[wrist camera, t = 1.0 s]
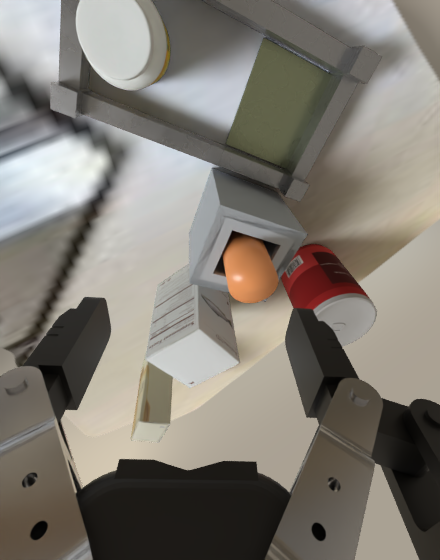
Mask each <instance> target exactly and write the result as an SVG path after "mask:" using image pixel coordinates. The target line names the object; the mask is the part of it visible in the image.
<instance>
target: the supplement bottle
mask: <svg viewBox="0 0 440 560" xmlns="http://www.w3.org/2000/svg"><path fill="white" fill-rule="evenodd" d="M76 30H77V35H78V39H79V42H80V44H81V47H82V49H83V51H84V53H85V55H86V57H87V59H88V61H89V63H90V64H91V66H92V67H93V68H94V70H95V71H96V72H97V73H98V74H99V75H100V76H101V77H102V78H103V79H104V80H106V81H107V82H108V83H110V84H111V85H113V86H115V87H118V88H120V89H124V90H140V89H143V88H145V87H147V86H149V85H152V84H154V83H155V82H157V81H158V80H159V79H160V78H161V77H162V76H163V75H164V74H165V72H166V70H167V68H168V65H169V61H170V40H169V35H168V32H167V29H166V27H165V25H164V23H163V21H162V18H161V16H160V14H159V12H158V10H157V8H156V7H155V5H154V4H153V3H152V1H151V0H80V1H79V4H78V7H77V12H76Z"/></svg>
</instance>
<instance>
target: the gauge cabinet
mask: <svg viewBox="0 0 440 560" xmlns="http://www.w3.org/2000/svg"><path fill="white" fill-rule="evenodd" d="M232 230H233V231H236V232H240V233H243V234H246V235H249V236H252V237H256V238H259V239H262V240H263V242H264V245H265V247H266V249H267V252H268V254H269V256H270V259H271V261H272V263H273V265H274V268H275V270H276V272H277V275H278V281H279V279H280V278H281V276H282V275H283V273H284V271H285V270H286V268H287V267H288V265H289V263H290V262H291V260H292V259H293V257H294V255H295V254H296V252H297V251H298V249H299V247H300V246H301V244H302V243H303V241H304V239H305V238H306V236H307V235H308V234H307V233H306V231H305V230H304V228H303V227H302V226H301V224H300V223H299V222H298V220H297V219H296V217H295V216H294V215H293V213H292V212H291V211H290V209H289V208H288V206H287V205H286V204H285V202H284V201H283V199H282V198H281V197H280V195H279V194H278V193H277V192H274V191H272V190H269V189H266V188H264V187H261V186H258V185H255V184H253V183H250V182H247V181H245V180H242V179H239V178H237V177H234V176H231V175H229V174H226V173H223V172H221V171H218V170H215V169H213V168H212V169H211V172H210V175H209V178H208V181H207V184H206V186H205V189H204V192H203V195H202V198H201V201H200V204H199V207H198V209H197V212H196V215H195V218H194V221H193V224H192V227H191V230H190V232H189V283H190V284H194V285H198V286H203V287H207V288H211V289H215V290H219V291H223V292H227V293H230V292H229V289H228V284H227V278H226V273H225V267H224V261H223V256H222V252H223V250H224V248H225V245H226V243H227V241H228V239H229V236H230V234H231V232H232ZM267 299H268V298H266V299H264V300H262V301H265V302H266V300H267Z"/></svg>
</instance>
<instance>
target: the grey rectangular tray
mask: <svg viewBox="0 0 440 560" xmlns="http://www.w3.org/2000/svg"><path fill="white" fill-rule="evenodd" d="M79 1H80V0H61V25H60V55H59V82H51V108H50V109H52V110H55V111H57V112H60V113H63V114H65V115H68V116H71V117H73V118H77V117H80V116H82V115H86V116H88V117H91V118H94V119H96V120H99V121H102V122H104V123H107V124H110V125H112V126H115V127H117V128H120V129H123V130H125V131H128V132H131V133H133V134H136V135H139V136H141V137H144V138H146V139H149V140H152V141H154V142H157V143H160V144H162V145H165V146H168V147H170V148H173V149H175V150H178V151H181V152H183V153H186V154H189V155H191V156H194V157H197V158H199V159H202V160H204V161H207V162H210V163H212V164H215V165H218V166H220V167H223V168H226V169H228V170H231V171H233V172H236V173H239V174H241V175H244V176H247V177H249V178H252V179H255V180H257V181H260V182H262V183H265V184H268V185H270V186H273V187H276V188H278V189H280V191H281V192H282V193H283V194H284V196H285V197H288V198H291V199H293V200H296V201H299V202H300V201H301V200H302V198H303V196H304V194H305V193H306V191H307V189H308V187H309V184H308V183H307V182H306V181H305V179H306V177H307V175H308V173H309V171H310V170H311V168H312V166H313V164H314V162H315V160H316V159H317V157H318V155H319V153H320V151H321V149H322V148H323V146H324V144H325V142H326V140H327V139H328V137H329V135H330V133H331V131H332V129H333V128H334V126H335V124H336V122H337V120H338V118H339V117H340V115H341V113H342V111H343V109H344V108H345V106H346V104H347V102H348V100H349V98H350V97H351V95H352V93H353V91H354V89H355V87H356V86H357V84H358V83H368V81H369V79H370V77H371V76H372V74H373V72H374V70H375V69H376V67H377V65H378V63H379V61H380V60H381V58H382V56H380V55H378V54H377V53H375V52H373V51H372V50H370V49H369V48H367V47H365V46H359V47H352V48H350V47H349V46H347V45H345V44H344V43H342V42H340V41H339V40H337V39H335V38H334V37H332V36H330V35H329V34H327V33H325V32H324V31H322V30H320V29H319V28H317V27H315V26H314V25H312V24H310V23H309V22H307V21H305V20H304V19H302V18H300V17H299V16H297V15H295V14H294V13H292V12H290V11H289V10H287V9H285V8H284V7H282V6H280V5H279V4H277V3H275V2H274V1H272V0H202V1H204V2H206V3H208V4H209V5H211V6H213V7H215V8H217V9H218V10H220V11H222V12H224V13H226V14H227V15H229V16H231V17H233V18H235V19H236V20H238V21H240V22H242V23H244V24H246V25H247V26H249V27H251V28H253V29H255V30H256V31H258V32H260V33H262V34H264V35H265V36H267V37H269V38H271V39H273V40H274V41H276V42H278V43H280V44H282V45H283V46H285V47H287V48H289V49H291V50H292V51H294V52H296V53H298V54H300V55H301V56H303V57H305V58H307V59H309V60H310V61H312V62H314V63H316V64H318V65H320V66H321V67H323V68H325V69H327V70H329V71H330V72H329V73H330V74H329V73H327V72H325V71H323V70H322V69H320V68H318V67H316V66H314V65H313V64H311V63H309V62H307V61H305V60H303V59H302V58H300V57H298V56H296V55H294V54H293V53H291V52H289V51H287V50H285V49H283V48H282V47H280V46H278V45H276V44H274V43H273V42H271V41H269V40H267V39H265V38H263V41H262V43H261V46H260V49H259V52H258V55H257V57H256V60H255V63H254V66H253V69H252V71H251V74H250V77H249V80H248V83H247V85H246V88H245V91H244V94H243V97H242V99H241V102H240V105H239V108H238V110H237V113H236V116H235V119H234V122H233V124H232V127H231V130H230V133H229V136H228V138H227V141H226V144H227V145H229V146H232V147H234V148H237V149H239V150H242V151H244V152H247V153H249V154H251V155H254V156H256V157H259V158H261V159H264V160H266V161H269V162H271V163H274V164H276V165H278V166H281V167H283V168H282V169H281V168H279V167H276V166H274V165H271V164H269V163H266V162H264V161H262V160H259V159H257V158H254V157H252V156H249V155H247V154H244V153H242V152H239V151H237V150H234V149H232V148H229V147H227V146H224V145H222V144H220V143H217V142H215V141H212V140H210V139H207V138H205V137H202V136H200V135H197V134H195V133H192V132H190V131H187V130H185V129H182V128H180V127H178V126H175V125H173V124H170V123H168V122H165V121H163V120H160V119H158V118H155V117H153V116H150V115H148V114H145V113H143V112H140V111H138V110H136V109H133V108H131V107H128V106H126V105H123V104H121V103H118V102H116V101H113V100H111V99H108V98H106V97H103V96H101V95H98V94H96V93H94V92H92V90H91V89H89V88H88V85H89V73H90V63H89V61H88V59H87V57H86V55H85V53H84V51H83V49H82V47H81V44H80V42H79V39H78V35H77V30H76V12H77V7H78V4H79Z"/></svg>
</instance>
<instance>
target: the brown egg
mask: <svg viewBox="0 0 440 560" xmlns="http://www.w3.org/2000/svg"><path fill="white" fill-rule="evenodd" d="M222 256H223V261H224V267H225V273H226V278H227V284H228V289H229V292H230V294H231V295H232V296H233V297H234V298H235V299H236V300H238V301H240V302H244V303H256V302H259V301H262V300H264V299H266V298H268V297H269V296H270V295H272V294H273V293H274V291H275V290H276V288H277V286H278V275H277V272H276V270H275V268H274V265H273V263H272V261H271V259H270V256H269V254H268V252H267V249H266V247H265V245H264V242H263V240H262V239H259V238H256V237H252V236H249V235H246V234H243V233H240V232H236V231H233V230H232V232H231V234H230V236H229V239H228V241H227V243H226V245H225V248H224V250H223V252H222Z"/></svg>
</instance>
